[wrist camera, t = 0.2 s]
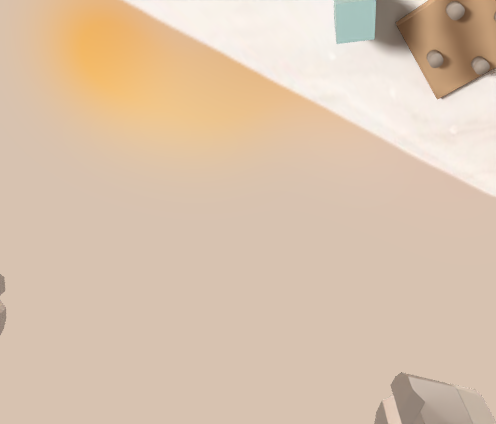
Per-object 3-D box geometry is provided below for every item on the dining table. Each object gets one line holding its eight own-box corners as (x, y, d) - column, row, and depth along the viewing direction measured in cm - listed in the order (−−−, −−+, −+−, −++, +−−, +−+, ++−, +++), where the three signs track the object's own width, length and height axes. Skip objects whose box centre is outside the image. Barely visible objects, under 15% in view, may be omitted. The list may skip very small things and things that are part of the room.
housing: (497, -47, 44) (508, -41, 42) (530, 41, 50) (541, 52, 47) (395, 22, 50) (399, 31, 48) (434, 94, 56) (440, 106, 53)
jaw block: (334, 16, 51) (336, 43, 44) (333, -19, 48) (335, 4, 41) (366, 12, 50) (374, 39, 43) (367, -24, 48) (376, -2, 40)
